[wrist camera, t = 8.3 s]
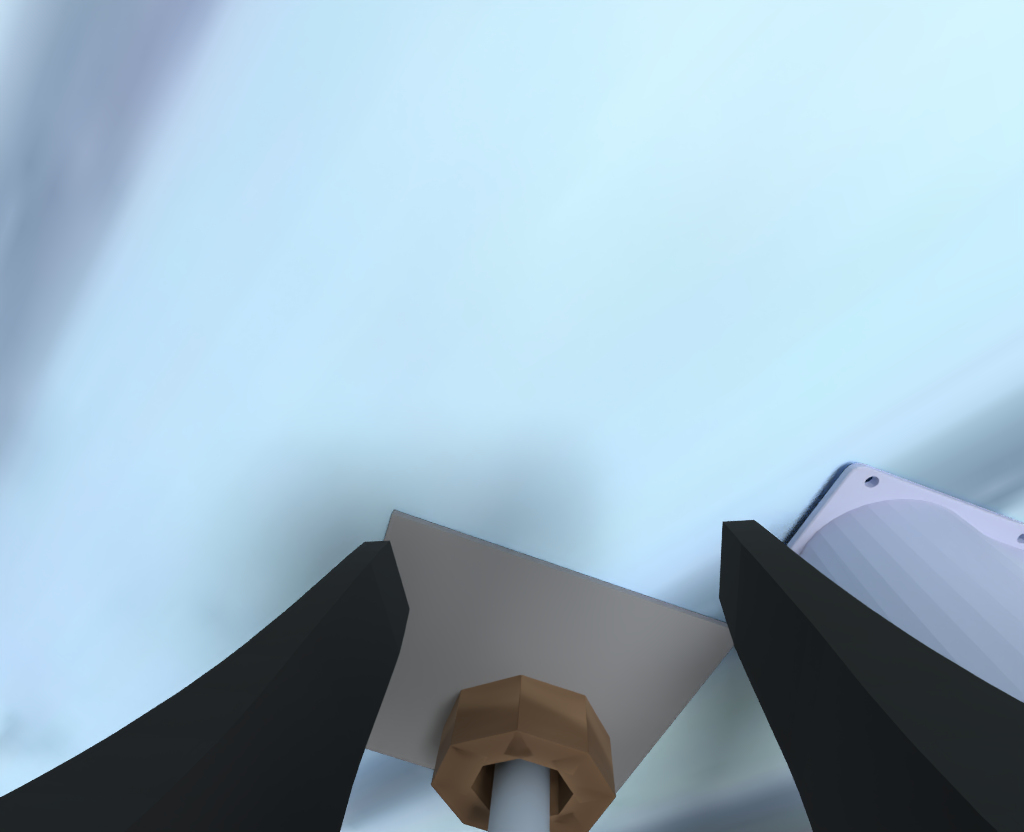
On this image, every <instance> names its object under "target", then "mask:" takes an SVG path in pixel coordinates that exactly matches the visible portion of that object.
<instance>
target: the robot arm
mask: <svg viewBox="0 0 1024 832" xmlns="http://www.w3.org/2000/svg"><path fill="white" fill-rule="evenodd" d="M872 476H873V478H872V479H871V480H870V481H869V482H865V481H866V479H868V478H869V477H872ZM719 599H720V602H721V606H722V609H723V612H724V615H725V619H726V622H727V625H728V628H729V631H730V634H731V637H732V640H733V643H734V646H735V649H736V651H737V653H738V655H739V658H740V660H741V662H742V664H743V667H744V669H745V671H746V673H747V676H748V678H749V680H750V682H751V685H752V687H753V689H754V691H755V693H756V696H757V698H758V700H759V702H760V705H761V707H762V709H763V711H764V713H765V716H766V718H767V720H768V722H769V724H770V727H771V729H772V731H773V733H774V735H775V738H776V740H777V742H778V744H779V746H780V749H781V751H782V753H783V755H784V758H785V760H786V762H787V764H788V767H789V769H790V771H791V774H792V776H793V779H794V781H795V784H796V786H797V788H798V791H799V793H800V796H801V799H802V802H803V804H804V807H805V810H806V813H807V816H808V818H809V821H810V824H811V827H812V830H813V832H1024V523H1023V522H1020V521H1017V520H1015V519H1012V518H1009V517H1006V516H1004V515H1001V514H998V513H996V512H993V511H990V510H988V509H985V508H982V507H979V506H977V505H974V504H971V503H969V502H966V501H963V500H961V499H958V498H955V497H952V496H950V495H947V494H944V493H942V492H939V491H936V490H934V489H931V488H928V487H925V486H923V485H920V484H917V483H915V482H912V481H909V480H907V479H904V478H901V477H898V476H896V475H893V474H890V473H888V472H885V471H882V470H880V469H877V468H874V467H871V466H869V465H866V464H863V463H854V464H851V465H849V466H848V467H847V468H846V469H845V470H844V471H843V472H842V474H841V475H840V476H839V478H838V479H837V480H836V481H835V483H834V484H833V485H832V487H831V488H830V489H829V491H828V492H827V493H826V495H825V496H824V497H823V498H822V500H821V501H820V502H819V504H818V505H817V506H816V508H815V509H814V510H813V511H812V513H811V514H810V515H809V517H808V518H807V519H806V521H805V522H804V523H803V525H802V526H801V527H800V528H799V530H798V531H797V532H796V534H795V535H794V536H793V538H792V539H791V540H790V541H789V543H788V544H787V545H785V544H784V543H783V542H781V541H780V540H779V539H778V538H776V537H775V536H774V535H773V534H771V533H770V532H769V531H768V530H766V529H765V528H764V527H763V526H761V525H760V524H759V523H757V522H756V521H755V520H745V521H727V522H723V526H722V547H721V568H720V589H719ZM409 610H410V608H409V605H408V601H407V598H406V594H405V591H404V587H403V584H402V580H401V577H400V574H399V570H398V567H397V563H396V560H395V556H394V553H393V549H392V546H391V543H390V541H375V542H364V543H363V544H362V545H360V546H359V547H358V548H357V549H355V550H354V551H353V552H352V553H351V554H349V555H348V556H347V557H346V558H345V559H344V560H343V561H341V562H340V563H339V564H338V565H337V566H336V567H335V568H334V569H332V570H331V571H330V572H329V573H328V574H327V575H326V576H325V577H324V578H322V579H321V580H320V581H319V582H318V583H317V584H316V585H314V586H313V587H312V588H311V589H310V590H309V591H308V592H307V593H305V594H304V595H303V596H302V597H301V598H300V599H299V600H297V601H296V602H295V603H294V604H293V605H292V606H291V607H289V608H288V609H287V610H286V611H285V612H283V613H282V614H281V615H280V616H278V617H277V618H276V619H275V620H274V621H272V622H271V623H270V624H269V625H267V626H266V627H265V628H264V629H263V630H261V631H260V632H259V633H258V634H256V635H255V636H254V637H253V638H252V639H250V640H249V641H248V642H247V643H245V644H244V645H243V646H242V647H240V648H239V649H238V650H236V651H235V652H234V653H233V654H231V655H230V656H229V657H227V658H226V659H225V660H223V661H222V662H221V663H219V664H218V665H217V666H215V667H214V668H212V669H211V670H209V671H208V672H207V673H205V674H204V675H202V676H201V677H200V678H198V679H197V680H195V681H194V682H193V683H191V684H190V685H188V686H187V687H185V688H184V689H183V690H181V691H180V692H178V693H177V694H175V695H174V696H172V697H170V698H169V699H167V700H166V701H164V702H163V703H161V704H160V705H158V706H156V707H155V708H153V709H152V710H150V711H149V712H147V713H145V714H144V715H142V716H141V717H139V718H138V719H136V720H135V721H133V722H131V723H130V724H128V725H127V726H125V727H124V728H122V729H120V730H119V731H117V732H116V733H114V734H112V735H111V736H109V737H107V738H106V739H104V740H102V741H101V742H99V743H97V744H96V745H94V746H92V747H90V748H89V749H87V750H85V751H84V752H82V753H80V754H79V755H77V756H75V757H73V758H72V759H70V760H68V761H66V762H64V763H63V764H61V765H59V766H57V767H56V768H54V769H52V770H50V771H48V772H47V773H45V774H43V775H41V776H39V777H38V778H36V779H34V780H32V781H30V782H28V783H27V784H25V785H23V786H21V787H19V788H17V789H15V790H14V791H12V792H10V793H8V794H6V795H4V796H2V797H0V832H340V830H341V826H342V822H343V819H344V815H345V811H346V808H347V804H348V800H349V796H350V793H351V789H352V786H353V783H354V780H355V777H356V774H357V771H358V767H359V764H360V761H361V759H362V756H363V753H364V750H365V748H366V745H367V742H368V740H369V737H370V734H371V731H372V729H373V726H374V723H375V720H376V718H377V715H378V712H379V710H380V707H381V704H382V701H383V699H384V696H385V693H386V691H387V688H388V685H389V682H390V679H391V677H392V674H393V671H394V668H395V665H396V663H397V660H398V657H399V654H400V650H401V646H402V642H403V638H404V634H405V629H406V624H407V620H408V615H409Z"/></svg>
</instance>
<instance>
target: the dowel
mask: <svg viewBox="0 0 1024 832" xmlns="http://www.w3.org/2000/svg"><path fill="white" fill-rule="evenodd" d="M488 832H550V768H548V767H545V766H542V765H538V764H535V763H532V762H529V761H526V760H522V759H514V760H509V761H504V762H500V763H495V770H494V779H493V788H492V798H491V807H490V816H489V825H488Z"/></svg>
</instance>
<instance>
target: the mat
mask: <svg viewBox="0 0 1024 832" xmlns="http://www.w3.org/2000/svg"><path fill="white" fill-rule="evenodd" d="M384 541H390V543H391V546H392V549H393V553H394V556H395V560H396V563H397V567H398V570H399V574H400V577H401V580H402V584H403V587H404V591H405V594H406V598H407V601H408V605H409V608H410V610H409V615H408V620H407V624H406V629H405V634H404V638H403V642H402V646H401V650H400V654H399V657H398V660H397V663H396V665H395V668H394V671H393V674H392V677H391V679H390V682H389V685H388V688H387V691H386V693H385V696H384V699H383V701H382V704H381V707H380V710H379V712H378V715H377V718H376V720H375V723H374V726H373V729H372V731H371V734H370V737H369V740H368V742H367V745H366V748H365V749H369V750H372V751H375V752H378V753H382V754H385V755H388V756H391V757H395V758H398V759H401V760H404V761H408V762H411V763H414V764H417V765H421V766H424V767H427V768H430V769H433V770H434V768H435V764H436V759H437V755H438V750H439V746H440V741H441V736H442V732H443V728H444V726H445V724H446V721H447V719H448V717H449V715H450V713H451V711H452V709H453V706H454V704H455V702H456V700H457V698H458V696H459V694H460V691H461V690H463V689H467V688H471V687H475V686H478V685H482V684H486V683H490V682H494V681H498V680H502V679H506V678H510V677H514V676H518V675H524V676H527V677H530V678H533V679H536V680H539V681H542V682H546V683H549V684H552V685H555V686H558V687H561V688H564V689H567V690H570V691H573V692H576V693H579V694H582V695H585V696H586V697H587V699H588V701H589V703H590V704H591V706H592V708H593V709H594V711H595V713H596V715H597V716H598V718H599V720H600V721H601V723H602V725H603V726H604V728H605V730H606V732H607V733H608V735H609V737H610V744H611V754H612V764H613V774H614V784H615V794H616V793H617V791H618V790H619V789H620V788H621V786H622V785H623V784H624V783H625V781H626V780H627V779H628V778H629V776H630V775H631V774H632V773H633V771H634V770H635V769H636V768H637V766H638V765H639V764H640V763H641V761H642V760H643V759H644V758H645V756H646V755H647V754H648V753H649V751H650V750H651V749H652V748H653V746H654V745H655V744H656V743H657V741H658V740H659V739H660V738H661V736H662V735H663V734H664V732H665V731H666V730H667V729H668V727H669V726H670V725H671V724H672V722H673V721H674V720H675V719H676V717H677V716H678V715H679V714H680V712H681V711H682V710H683V709H684V707H685V706H686V705H687V704H688V702H689V701H690V700H691V699H692V697H693V696H694V695H695V694H696V692H697V691H698V690H699V689H700V687H701V686H702V685H703V684H704V682H705V681H706V680H707V679H708V677H709V676H710V675H711V674H712V672H713V671H714V670H715V669H716V667H717V666H718V665H719V664H720V662H721V661H722V660H723V659H724V657H725V656H726V655H727V654H728V652H729V651H730V650H731V649H732V647H733V646H734V643H733V640H732V637H731V634H730V631H729V628H728V625H727V623H724V622H721V621H718V620H715V619H713V618H710V617H707V616H704V615H701V614H698V613H695V612H692V611H689V610H686V609H683V608H680V607H677V606H674V605H672V604H669V603H666V602H663V601H660V600H657V599H654V598H651V597H648V596H645V595H642V594H639V593H636V592H633V591H630V590H628V589H625V588H622V587H619V586H616V585H613V584H610V583H607V582H604V581H601V580H598V579H595V578H592V577H589V576H587V575H584V574H581V573H578V572H575V571H572V570H569V569H566V568H563V567H560V566H557V565H554V564H551V563H548V562H546V561H543V560H540V559H537V558H534V557H531V556H528V555H525V554H522V553H519V552H516V551H513V550H510V549H507V548H504V547H502V546H499V545H496V544H493V543H490V542H487V541H484V540H481V539H478V538H475V537H472V536H469V535H466V534H463V533H461V532H458V531H455V530H452V529H449V528H446V527H443V526H440V525H437V524H434V523H431V522H428V521H425V520H422V519H420V518H417V517H414V516H411V515H408V514H405V513H402V512H399V511H396V510H394V511H393V513H392V515H391V519H390V522H389V525H388V529H387V532H386V535H385V539H384Z"/></svg>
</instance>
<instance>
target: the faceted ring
mask: <svg viewBox="0 0 1024 832" xmlns="http://www.w3.org/2000/svg"><path fill="white" fill-rule="evenodd" d="M514 759H522V760H526V761H529V762H532V763H535V764H538V765H542V766H545V767H548V768H550V832H588V831H589V830H590V829H591V827H592V826H593V825H594V824H595V822H596V821H597V820H598V819H599V817H600V816H601V815H602V814H603V812H604V811H605V810H606V809H607V807H608V806H609V805H610V804H611V803H612V801H613V800H614V799H615V798H616V794H615V784H614V774H613V764H612V754H611V744H610V737H609V735H608V733H607V732H606V730H605V728H604V726H603V725H602V723H601V721H600V720H599V718H598V716H597V715H596V713H595V711H594V709H593V708H592V706H591V704H590V703H589V701H588V699H587V697H586V696H585V695H582V694H579V693H576V692H573V691H570V690H567V689H564V688H561V687H558V686H555V685H552V684H549V683H546V682H542V681H539V680H536V679H533V678H530V677H527V676H524V675H518V676H514V677H510V678H506V679H502V680H498V681H494V682H490V683H486V684H482V685H478V686H475V687H471V688H467V689H463V690H461V691H460V694H459V696H458V698H457V700H456V702H455V704H454V706H453V709H452V711H451V713H450V715H449V717H448V719H447V721H446V724H445V726H444V728H443V732H442V736H441V741H440V746H439V750H438V755H437V759H436V764H435V768H434V773H433V778H432V782H431V786H432V787H433V788H434V789H435V790H436V792H437V793H438V794H439V795H440V796H441V798H442V799H443V800H444V801H445V802H446V804H447V805H448V806H449V807H450V808H451V810H452V811H453V812H454V813H455V814H456V816H457V817H458V818H459V819H460V820H461V822H462V823H463V824H466V825H469V826H473V827H476V828H479V829H483V830H486V831H488V825H489V816H490V807H491V798H492V788H493V779H494V770H495V763H500V762H504V761H509V760H514Z"/></svg>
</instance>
